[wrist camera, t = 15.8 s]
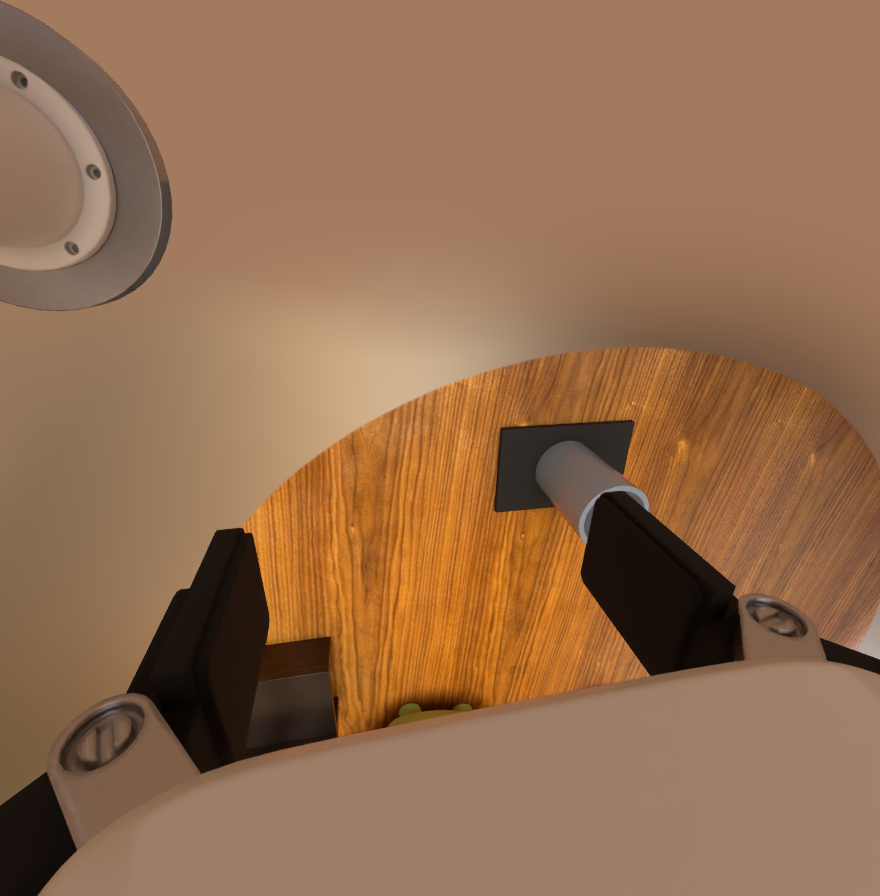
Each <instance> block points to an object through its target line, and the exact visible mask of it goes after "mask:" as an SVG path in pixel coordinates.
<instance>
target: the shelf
mask: <svg viewBox="0 0 880 896" xmlns="http://www.w3.org/2000/svg"><path fill="white" fill-rule="evenodd" d="M330 660H331V638H330V637H327V638H319V639H312V640H305V641H297V642H290V643H283V644H276V645H268V646H265V650H264V655H263V660H262V665H261V670H260V675H259V680H258V685H257V690H256V695H255V700H254V705H253V710H252V715H251V720H250V726H249V731H248V736H247V741H246V746H245V751H244V756H243V760H245V759H248V758H252V757H256V756H260V755H264V754H267V753H271V752H275V751H279V750H283V749H288V748H292V747H297V746H301V745H306V744H310V743H315V742H320V741H324V740H329V739H333V738H338V716H339V699H338V697H333V693H332V685H331V678H330Z"/></svg>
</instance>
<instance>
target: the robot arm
mask: <svg viewBox="0 0 880 896" xmlns="http://www.w3.org/2000/svg"><path fill="white" fill-rule="evenodd" d="M26 81H28V85H27V87H26V86H25V82H26ZM98 170H100V172H101V176H100V178H99V177H98V176H97V171H98ZM115 213H116V188H115V183H114V179H113V174H112V169H111V167H110V164H109V162H108V159H107V157H106V154H105V152H104V149H103V147H102V146H101V144H100V142H99V140H98V139H97V137H96V135H95V133H94V132H93V130H92V128H91V127H90V126H89V125H88V123H87V122H86V121H85V119H84V118H83V117H82V115H81V114H80V113H79V112H78V110H77V109H76V108H75V107H74V106H73V105H72V104H71V103H70V102H69V101H68V100H67V99H66V98H65V97H64V96H63V95H62V94H61V93H60V92H59V91H58V90H56V89H55V88H54V87H52V86H51V85H50V84H48V83H47V82H46V81H44V80H43V79H42V78H40V77H39V76H38V75H36V74H34V73H33V72H31V71H29V70H28V69H26V68H24V67H22V66H21V65H19V64H17V63H15V62H13V61H11V60H9V59H6V58H4V57H2V56H0V265H3V266H7V267H11V268H15V269H21V270H31V271H49V270H57V269H63V268H68V267H72V266H74V265H76V264H79V263H81V262H83V261H85V260H87V259H88V258H89V257H91V256H92V255H93V254H95V253H96V252H97V251H98V250H99V249H100V247H101V246H102V245H103V244H104V242H105V241H106V240H107V238H108V236H109V233H110V231H111V229H112V227H113V224H114V218H115ZM76 245H77V246H78V248H79V252H78V251H77V250H76V247H75V246H76ZM581 577H582V580H583V582H584V584H585V586H586V587H587V588H588V590H589V591H590V593H591V594H592V595H593V597H594V598H595V599H596V601H597V602H598V604H599V605H600V606H601V608H602V609H603V611H604V612H605V613H606V615H607V616H608V618H609V619H610V620H611V622H612V623H613V624H614V626H615V627H616V629H617V630H618V631H619V633H620V634H621V636H622V637H623V638H624V640H625V641H626V643H627V644H628V645H629V647H630V648H631V649H632V651H633V652H634V654H635V655H636V656H637V658H638V659H639V661H640V662H641V663H642V665H643V666H644V667H645V669H646V670H647V672H648V673H649V674H650V676H649V677H643V678H638V679H633V680H627V681H622V682H617V683H611V684H606V685H601V686H595V687H590V688H585V689H580V690H574V691H569V692H564V693H559V694H554V695H548V696H543V697H538V698H533V699H528V700H523V701H517V702H512V703H507V704H502V705H497V706H492V707H487V708H482V709H476V710H471V711H466V712H461V713H456V714H451V715H446V716H441V717H436V718H431V719H426V720H421V721H416V722H411V723H406V724H401V725H396V726H391V727H386V728H381V729H376V730H371V731H366V732H361V733H356V734H352V735H347V736H343V737H338V738H333V739H329V740H324V741H320V742H315V743H310V744H306V745H301V746H297V747H292V748H288V749H283V750H279V751H275V752H271V753H267V754H264V755H260V756H256V757H252V758H248V759H245V760H243V756H244V751H245V746H246V741H247V736H248V731H249V726H250V720H251V715H252V710H253V705H254V700H255V695H256V690H257V685H258V680H259V675H260V670H261V665H262V660H263V655H264V650H265V645H266V640H267V634H268V629H269V612H268V607H267V602H266V597H265V592H264V587H263V582H262V577H261V572H260V567H259V563H258V558H257V553H256V548H255V543H254V538H253V535H252V533H245V532H244V530H243V528H234V529H225V530H217V531H216V532H215V534H214V536H213V538H212V541H211V543H210V545H209V547H208V549H207V552H206V554H205V556H204V558H203V560H202V563H201V565H200V567H199V569H198V571H197V574H196V576H195V578H194V580H193V582H192V585H191V587H190V588H188V589H180V590H179V591H178V592H176V594H175V595H174V597H173V599H172V601H171V603H170V605H169V607H168V609H167V611H166V613H165V615H164V617H163V619H162V621H161V623H160V625H159V627H158V630H157V631H156V634H155V636H154V638H153V640H152V642H151V644H150V646H149V648H148V650H147V652H146V654H145V656H144V658H143V660H142V662H141V664H140V666H139V668H138V670H137V672H136V674H135V676H134V678H133V680H132V683H131V685H130V687H129V689H128V691H127V693H126V694H120V695H117V696H114V697H111V698H108V699H105V700H103V701H101V702H99V703H97V704H95V705H93V706H92V707H90V708H88V709H87V710H85V711H84V712H83V713H82V714H80V715H79V716H77V717H76V718H75V719H74V720H73V721H72V722H71V723H70V724H69V725H68V726H67V727H66V728H65V729H64V730H63V731H62V732H61V733H60V734H59V736H58V737H57V739H56V740H55V742H54V743H53V745H52V746H51V749H50V752H49V754H48V757H47V760H46V764H47V772H45V773H44V774H43V775H41V776H40V777H39V778H37V779H36V780H35V781H33V782H32V783H31V784H29V785H28V786H26V787H25V788H24V789H22V790H21V791H20V792H18V793H17V794H16V795H14V796H13V797H11V798H10V799H9V800H8V801H6V802H5V803H3V804H2V805H1V806H0V896H880V660H879V659H877V658H874V657H871V656H868V655H866V654H863V653H860V652H857V651H855V650H852V649H849V648H846V647H844V646H841V645H838V644H835V643H833V642H830V641H827V640H824V639H822V638H819V635H818V632H817V629H816V628H815V626H814V624H813V622H812V621H811V620H810V619H809V618H808V617H807V616H806V615H805V614H804V613H802V612H801V611H800V610H798V609H797V608H796V607H794V606H792V605H790V604H788V603H787V602H785V601H783V600H780V599H777V598H775V597H772V596H768V595H764V594H752V593H751V594H747V595H743V596H742V597H741V598H740V599H739V600H738V599H737V598H736V597H735V596H734V595H733V592H734V590H735V587H736V586H734V585H733V584H732V583H731V582H730V581H729V580H727V579H726V578H725V577H724V576H723V575H722V574H720V573H719V572H718V571H717V570H716V569H715V568H713V567H712V566H711V565H710V564H709V563H708V562H707V561H705V560H704V559H703V558H702V557H701V556H700V555H698V554H697V553H696V552H695V551H694V550H693V549H691V548H690V547H689V546H688V545H687V544H686V543H684V542H683V541H682V540H681V539H680V538H679V537H677V536H676V535H675V534H674V533H673V532H672V531H670V530H669V529H668V528H667V527H666V526H665V525H663V524H662V523H661V522H660V521H659V520H658V519H656V518H655V517H654V516H653V515H652V514H651V513H649V512H648V511H647V510H646V509H645V508H644V507H642V506H641V505H640V504H639V503H638V502H637V501H635V500H634V499H633V498H632V497H631V496H630V495H628V494H627V493H626V492H624V491H613V492H604V493H602V494H601V495H600V498H597V499H596V501H595V504H594V509H593V514H592V519H591V524H590V529H589V534H588V539H587V544H586V548H585V553H584V558H583V563H582V568H581Z"/></svg>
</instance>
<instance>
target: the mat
mask: <svg viewBox="0 0 880 896" xmlns="http://www.w3.org/2000/svg"><path fill="white" fill-rule="evenodd" d="M634 423H635V422H633V421H632V420H630V421H613V422H595V423H578V424H561V425H543V426H526V427H508V428H501V434H500V447H499V459H498V472H497V485H496V497H495V511H496V512H506V511H516V510H527V509H538V508H548V507H555V506H554V505H553V503H552V502H551V501H550V500H549V498H548V497H547V496H546V495H545V493H544V492H543V491H542V490H541V488H540V487H539V486H538V484H537V481H536V475H535V474H536V467H537V464H538V462H539V460H540V458H541V456H542V455H543V454H544V453H545V452H546V451H547V450H548V449H549V448H551V447H552V446H554V445H555V444H558V443H560V442H564V441H578V442H581V443H583V444H584V445H586V446H587V447H588V448H590V449H591V450H592V451H593V452H594V453H596V454H597V455H598V456H599V457H601V458H602V459H603V460H604V461H606V462H607V463H608V464H609V465H610V466H612V467H613V468H614V469H615V470H617V471H618V472H619V473H620V474H621V475H623V473H624V469H625V464H626V460H627V455H628V450H629V446H630V441H631V437H632V432H633V427H634Z"/></svg>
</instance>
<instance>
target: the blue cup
mask: <svg viewBox="0 0 880 896" xmlns="http://www.w3.org/2000/svg"><path fill="white" fill-rule="evenodd" d="M535 475H536V481H537V484H538V486H539V487H540V488H541V490H542V491H543V492H544V493H545V495H546V496H547V497H548V498H549V500H550V501H551V502H552V503H553V505H554V506H555V507H556V508H557V510H558V511H559V512H560V513H561V515H562V516H563V517H564V518H565V520H566V521H567V522H568V523H569V525H570V526H571V527H572V528H573V530H574V531H575V532H576V533H577V535H578V536H579V537H580V538H581V540H582V541H583V542H584V543H585V544H587V539H588V534H589V529H590V524H591V519H592V514H593V509H594V504H595V501H596V499H597V498H600V495H601V494H602V493H604V492H613V491H624V492H626V493H627V494H628V495H630V496H631V497H632V498H633V499H634V500H635V501H637V502H638V503H639V504H640V505H641V506H642V507H644V508H645V509H646V510H647V511H648V512H649V502H648V499H647V497H646V495H645V494H644V493H643V492H642V491H641V490H640V489H639V488H637V487H636V486H635V485H634V484H632V483H631V482H630V481H629V480H628V479H626V478H625V477H624V476H623V475H621V474H620V473H619V472H618V471H617V470H615V469H614V468H613V467H612V466H610V465H609V464H608V463H607V462H606V461H604V460H603V459H602V458H601V457H599V456H598V455H597V454H596V453H594V452H593V451H592V450H591V449H590V448H588V447H587V446H586V445H584V444H583V443H581V442H578V441H564V442H560V443H558V444H555V445H554V446H552V447H551V448H549V449H548V450H547V451H546V452H545V453H544V454H543V455H542V456H541V458H540V460H539V462H538V464H537V467H536V474H535Z"/></svg>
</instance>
